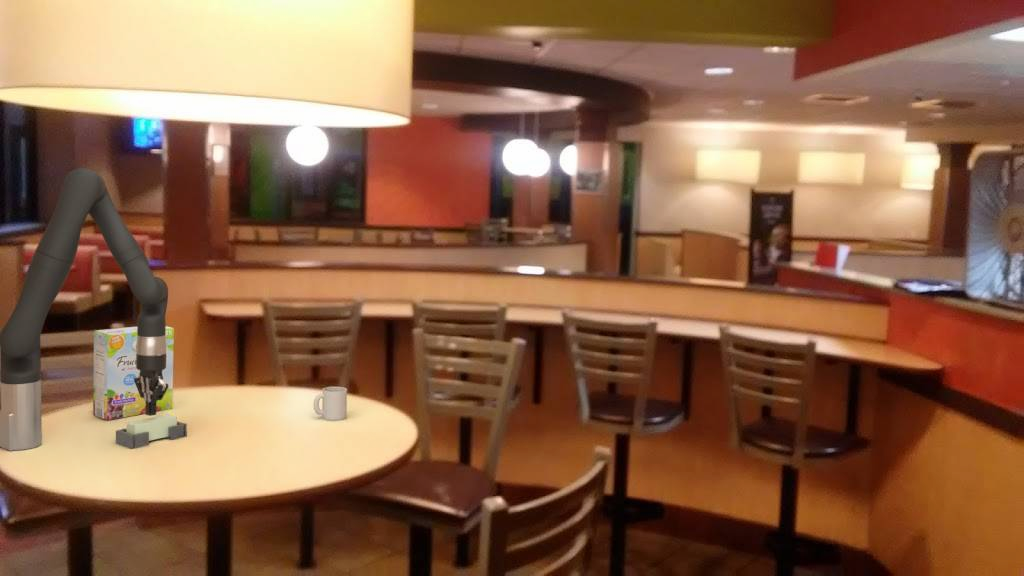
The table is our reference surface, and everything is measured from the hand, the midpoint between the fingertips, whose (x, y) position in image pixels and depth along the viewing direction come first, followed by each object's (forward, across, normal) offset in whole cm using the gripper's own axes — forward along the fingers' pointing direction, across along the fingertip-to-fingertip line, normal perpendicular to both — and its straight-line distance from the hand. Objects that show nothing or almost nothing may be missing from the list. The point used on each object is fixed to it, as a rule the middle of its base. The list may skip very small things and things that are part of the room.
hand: (150, 414), depth 246 cm
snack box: (+7, -29, +13) cm, 33 cm away
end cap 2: (+7, 0, +6) cm, 9 cm away
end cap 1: (+7, 0, -5) cm, 9 cm away
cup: (+7, +17, +49) cm, 52 cm away
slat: (+6, 0, 0) cm, 6 cm away
